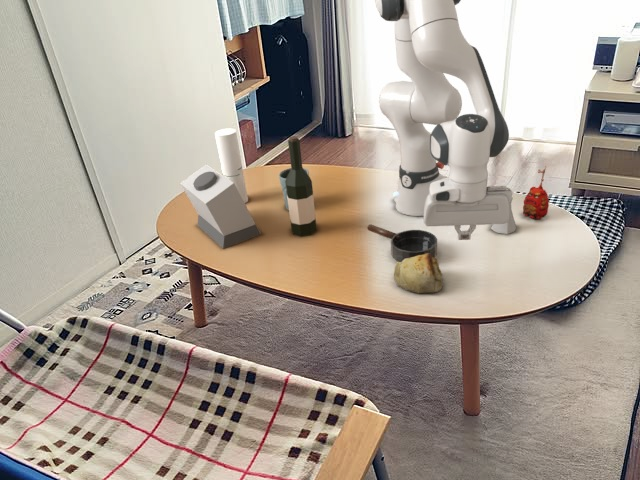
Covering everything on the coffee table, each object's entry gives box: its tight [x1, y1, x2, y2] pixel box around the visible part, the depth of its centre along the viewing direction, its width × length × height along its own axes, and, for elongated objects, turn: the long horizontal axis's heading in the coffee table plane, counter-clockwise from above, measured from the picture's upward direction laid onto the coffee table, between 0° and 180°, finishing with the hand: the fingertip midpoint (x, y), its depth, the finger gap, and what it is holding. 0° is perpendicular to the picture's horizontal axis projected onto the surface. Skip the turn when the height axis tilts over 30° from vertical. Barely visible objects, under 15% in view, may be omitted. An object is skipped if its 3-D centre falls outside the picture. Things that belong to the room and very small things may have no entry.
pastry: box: [393, 253, 443, 294], centre depth 148 cm, size 14×12×8 cm
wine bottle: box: [285, 135, 318, 238], centre depth 171 cm, size 8×8×30 cm
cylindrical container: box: [214, 127, 249, 204], centre depth 194 cm, size 7×7×25 cm
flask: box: [490, 196, 517, 235], centre depth 166 cm, size 7×7×10 cm
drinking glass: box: [278, 167, 310, 211], centre depth 191 cm, size 10×10×12 cm
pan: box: [390, 229, 438, 262], centre depth 160 cm, size 13×13×4 cm
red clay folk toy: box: [522, 165, 550, 221], centre depth 170 cm, size 8×7×15 cm
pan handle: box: [366, 223, 400, 241], centre depth 167 cm, size 12×2×2 cm, turn 44°
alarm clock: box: [179, 163, 262, 249], centre depth 178 cm, size 20×16×20 cm
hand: (464, 238), depth 141 cm, fingers closed
